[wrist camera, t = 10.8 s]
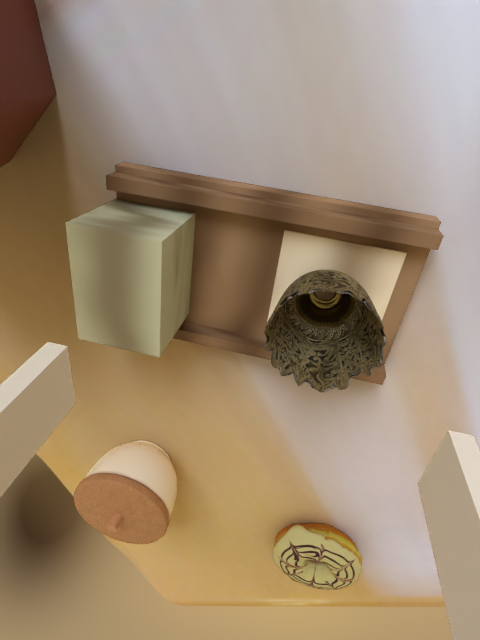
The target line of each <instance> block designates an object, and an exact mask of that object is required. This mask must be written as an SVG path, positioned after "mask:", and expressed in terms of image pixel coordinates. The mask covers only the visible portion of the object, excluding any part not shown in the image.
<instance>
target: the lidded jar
mask: <svg viewBox="0 0 480 640" xmlns="http://www.w3.org/2000/svg"><path fill="white" fill-rule="evenodd" d="M176 494H177V476H176V472H175V469H174V467H173V465H172V463H171V459H170V457H169V455H168V454H167V452H166V451H165V450H164V449H163V448H161V447H160V446H158V445H157V444H155V443H152V442H149V441H145V440H136V441H132V442H130V443H125V444H121V445H119V446H116V447H114V448H112V449H111V450H109V451H108V452H106V453H105V454H104V455H103V456H102V457H101V458H100V459H99V460H98V461H97V462H96V463H95V464H94V465H93V467H92V468H91V469H90V471H89V472H88V473H87V475H86V476H85V478H84V479H83V480H82V481H81V482H80V484H79V485H78V487H77V488H76V490H75V493H74V503H75V506H76V508H77V510H78V512H79V514H80V515H81V516H82V517H83V519H84V520H85V521H86V522H88V524H90V525H91V526H92V527H93V528H95V529H96V530H98V531H99V532H101V533H103V534H105V535H107V536H109V537H111V538H113V539H116V540H119V541H122V542H127V543H133V544H148V543H152V542H154V541H157V540H158V539H160V538H161V537H162V536H163V535H164V534H165V532H166V530H167V527H168V525H169V519H170V516H171V514H172V511H173V508H174V504H175V500H176Z"/></svg>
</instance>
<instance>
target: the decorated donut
mask: <svg viewBox="0 0 480 640" xmlns="http://www.w3.org/2000/svg"><path fill="white" fill-rule="evenodd" d="M273 560H274V562H275V563H276V565H277V566H278V567H279V568H280V569H281V570H282V571H283V572H284V573H285V574H287V575H288V576H289V577H290V578H291V579H292V580H295V581H297V582H300V583H302V584H305V585H307V586H310V587H313V588H318V589H326V590H329V589H342V588H346V587H348V586H350V585H352V584H353V583H355V582H356V581H357V579H358V577H359V575H360V573H361V570H362V568H361V565H362V559H361V555H360V553H359V552H358V549H357V547H356V545H355V544H354V542H353V541H352V540H351V539H350V538H349V537H348V536H347V535H345V534H344V533H343V532H341V531H340V530H338V529H336V528H334V527H332V526H329V525H325V524H320V523H307V524H306V523H304V524H291V525H290V526H287V527H285V528H284V529H283V530H282V531H281V532H279V533H278V535H277V536H276V540H275V545H274V551H273Z"/></svg>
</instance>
